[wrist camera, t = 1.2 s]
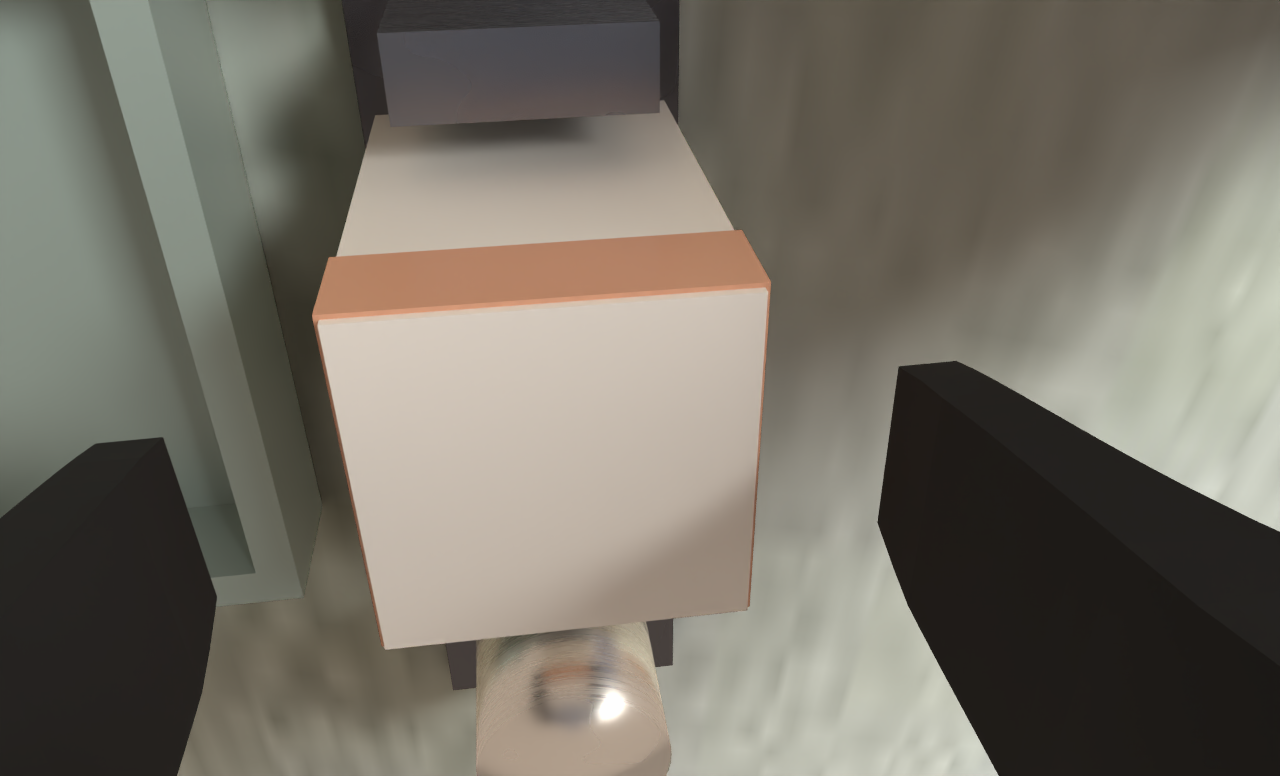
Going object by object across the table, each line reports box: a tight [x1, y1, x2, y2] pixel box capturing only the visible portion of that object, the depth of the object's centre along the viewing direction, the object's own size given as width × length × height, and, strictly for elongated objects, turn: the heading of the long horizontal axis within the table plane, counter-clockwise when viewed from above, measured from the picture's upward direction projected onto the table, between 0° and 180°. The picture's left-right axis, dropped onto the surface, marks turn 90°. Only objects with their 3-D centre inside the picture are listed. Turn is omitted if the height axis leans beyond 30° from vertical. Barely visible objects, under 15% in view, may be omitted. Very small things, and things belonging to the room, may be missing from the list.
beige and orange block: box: [312, 100, 771, 650], centre depth 12 cm, size 4×4×6 cm
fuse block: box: [342, 0, 679, 776], centre depth 14 cm, size 4×19×4 cm, turn 1°
